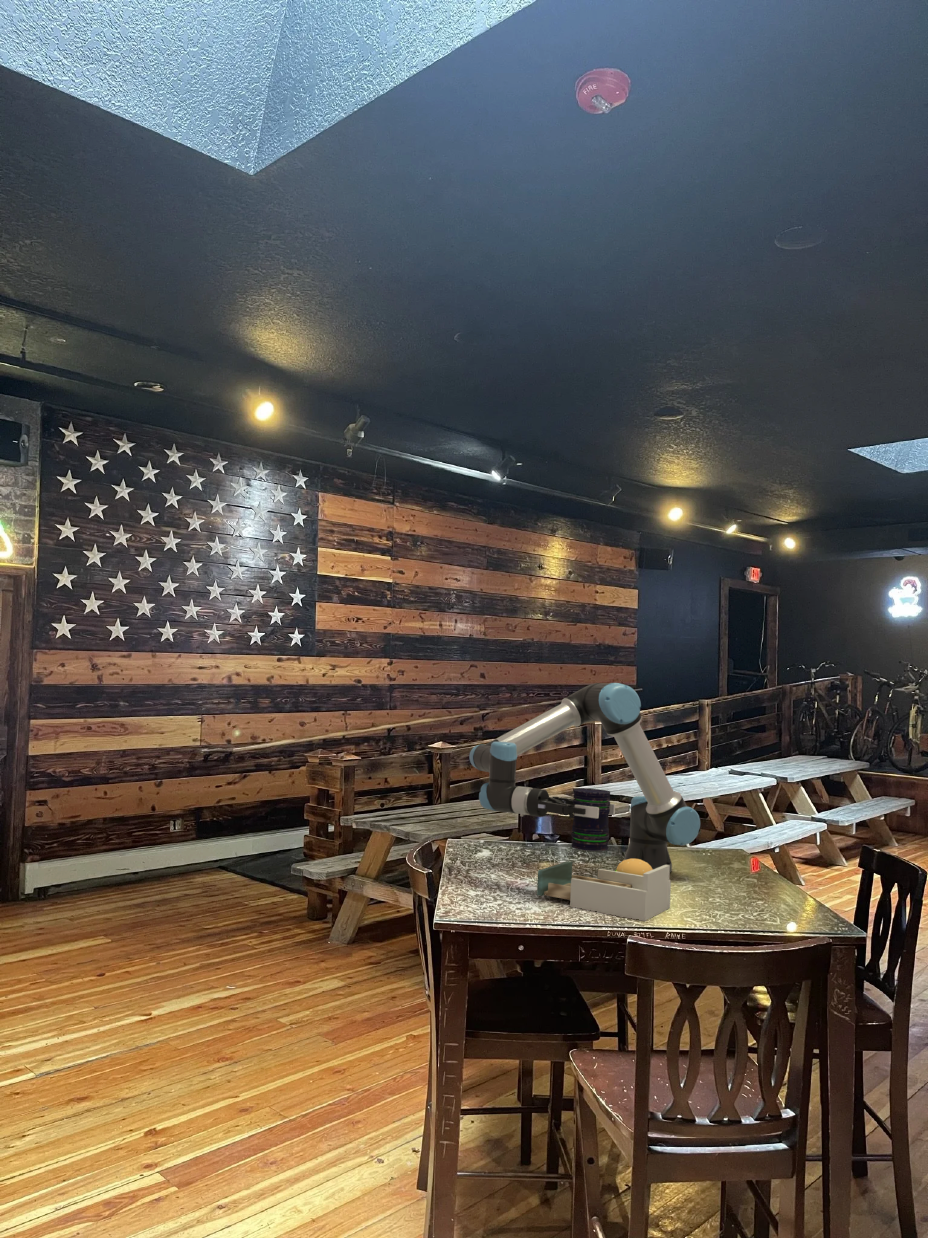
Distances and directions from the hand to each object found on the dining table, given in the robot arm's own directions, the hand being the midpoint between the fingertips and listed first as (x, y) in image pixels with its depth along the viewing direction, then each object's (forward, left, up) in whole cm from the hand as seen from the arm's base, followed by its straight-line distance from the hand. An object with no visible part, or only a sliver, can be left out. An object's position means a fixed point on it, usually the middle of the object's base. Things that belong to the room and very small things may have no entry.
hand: (606, 811), depth 229 cm
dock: (-3, +3, -24) cm, 24 cm away
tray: (+3, -3, -23) cm, 23 cm away
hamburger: (-15, -16, -24) cm, 33 cm away
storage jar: (+3, -3, -10) cm, 11 cm away
